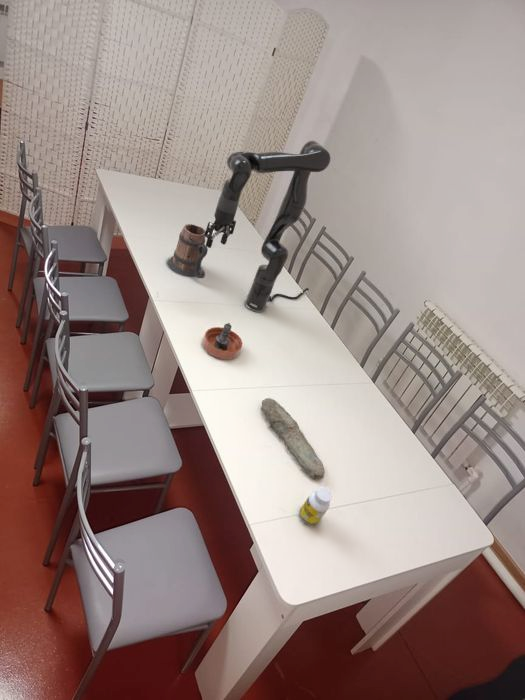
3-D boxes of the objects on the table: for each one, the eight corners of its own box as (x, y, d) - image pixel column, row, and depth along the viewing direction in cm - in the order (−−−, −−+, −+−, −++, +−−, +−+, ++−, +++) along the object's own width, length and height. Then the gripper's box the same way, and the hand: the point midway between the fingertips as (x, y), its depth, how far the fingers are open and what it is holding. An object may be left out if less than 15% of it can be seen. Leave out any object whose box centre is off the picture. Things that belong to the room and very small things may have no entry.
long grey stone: (305, 487, 155) (327, 479, 161) (313, 478, 152) (334, 470, 158) (252, 404, 173) (273, 400, 179) (258, 394, 170) (279, 391, 176)
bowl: (220, 331, 202) (223, 323, 199) (246, 352, 197) (249, 344, 194) (194, 342, 191) (197, 333, 188) (221, 365, 185) (224, 357, 183)
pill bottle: (297, 505, 147) (312, 482, 140) (317, 508, 149) (332, 486, 142) (300, 524, 142) (315, 502, 135) (320, 527, 144) (336, 505, 137)
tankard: (161, 257, 231) (169, 219, 220) (191, 256, 242) (201, 220, 230) (184, 286, 219) (194, 247, 207) (215, 283, 229) (226, 246, 218)
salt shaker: (225, 353, 191) (234, 329, 184) (211, 347, 191) (219, 323, 184) (229, 345, 196) (238, 321, 189) (216, 339, 196) (224, 316, 189)
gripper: (221, 214, 177) (209, 253, 186) (245, 210, 187) (234, 247, 197) (207, 204, 180) (196, 243, 189) (232, 201, 190) (221, 237, 199)
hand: (215, 245), depth 193 cm, fingers open, 8 cm apart
